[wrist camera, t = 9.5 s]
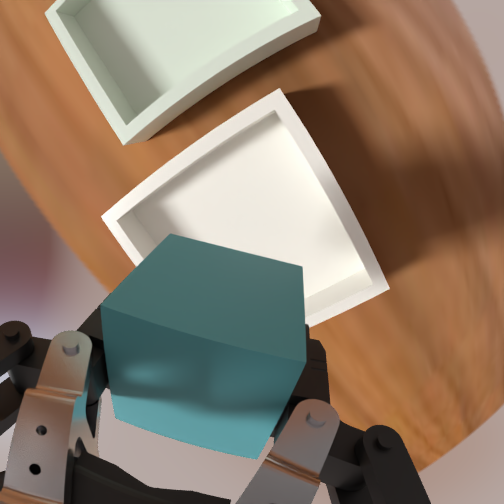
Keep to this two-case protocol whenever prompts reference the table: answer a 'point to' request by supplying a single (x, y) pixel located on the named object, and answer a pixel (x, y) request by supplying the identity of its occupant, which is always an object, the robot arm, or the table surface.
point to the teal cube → (205, 344)
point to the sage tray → (170, 51)
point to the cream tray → (258, 206)
